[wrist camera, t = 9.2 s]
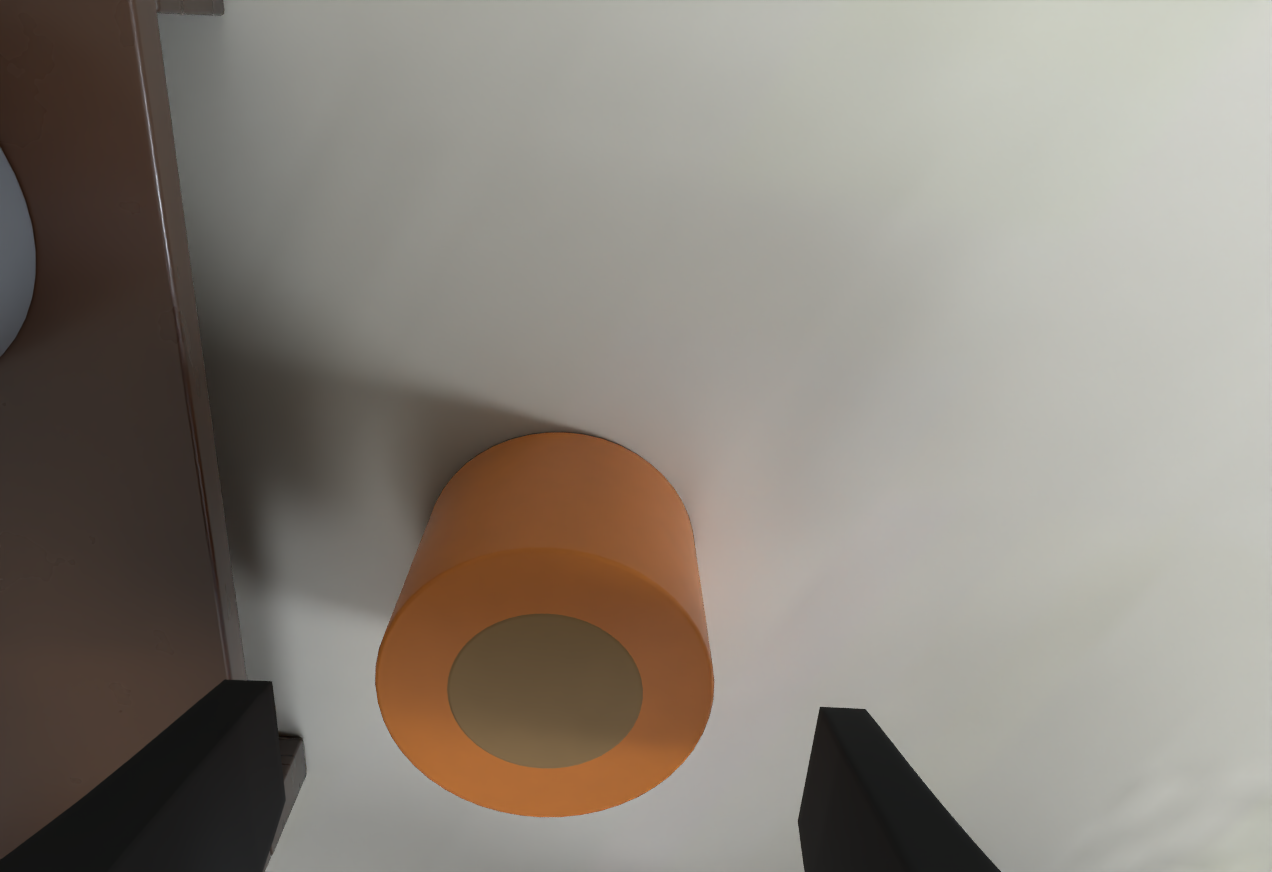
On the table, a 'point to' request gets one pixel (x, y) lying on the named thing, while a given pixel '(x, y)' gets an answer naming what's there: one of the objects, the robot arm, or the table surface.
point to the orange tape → (550, 631)
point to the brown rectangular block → (104, 421)
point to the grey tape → (14, 256)
